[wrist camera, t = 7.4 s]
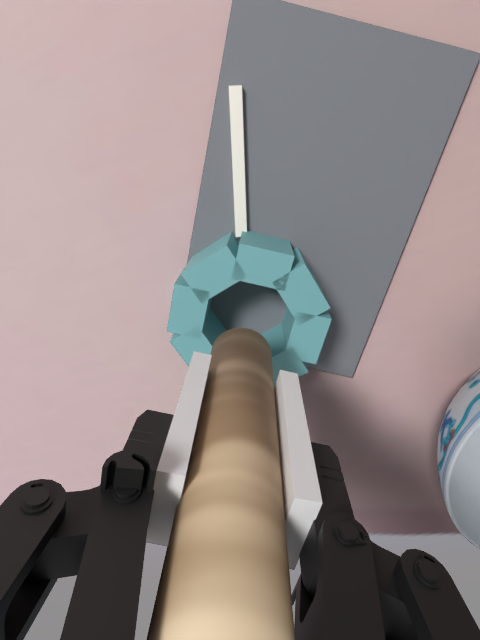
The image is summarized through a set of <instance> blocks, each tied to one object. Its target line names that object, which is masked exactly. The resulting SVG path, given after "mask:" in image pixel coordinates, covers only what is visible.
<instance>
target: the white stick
mask: <svg viewBox="0 0 480 640" xmlns="http://www.w3.org/2000/svg"><path fill="white" fill-rule="evenodd" d="M229 104H230V126H231V148H232V170H233V192H234V214H235V235H236V237H241V233H242V231H245V232H247V213H246V184H245V154H244V125H243V95H242V85H235V86H229Z"/></svg>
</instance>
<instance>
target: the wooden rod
mask: <svg viewBox="0 0 480 640" xmlns="http://www.w3.org/2000/svg"><path fill="white" fill-rule="evenodd" d="M210 355H212V356H211V361H210V366H209V370H208V375H207V380H206V384H205V389H204V393H203V398H202V403H201V407H200V412H199V417H198V421H197V426H196V430H195V435H194V440H193V444H192V449H191V454H190V458H189V463H188V468H187V472H186V477H185V481H184V486H183V490H182V495H181V499H180V502H179V504H178V506H177V508H176V511H175V515H174V520H173V524H172V529H171V533H170V538H169V542H168V547H167V551H166V556H165V560H164V564H163V569H162V573H161V578H160V583H159V587H158V591H157V596H156V600H155V605H154V609H153V614H152V618H151V623H150V627H149V632H148V636H147V640H295V635H294V623H293V612H292V599H291V586H290V575H289V562H288V550H287V538H286V525H285V513H284V501H283V489H282V477H281V465H280V452H279V440H278V428H277V416H276V404H275V391H274V379H273V367H272V355H271V348H270V345H269V343H268V342H267V340H266V339H265V338H264V337H263V336H262V335H261V334H260V333H258V332H256V331H254V330H252V329H248V328H233V329H230V330H227V331H225V332H224V333H222V334H221V335H220V336H219V337H218V338H217V339H216V340H215V342H214V344H213V346H212V350H211V354H210Z"/></svg>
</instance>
